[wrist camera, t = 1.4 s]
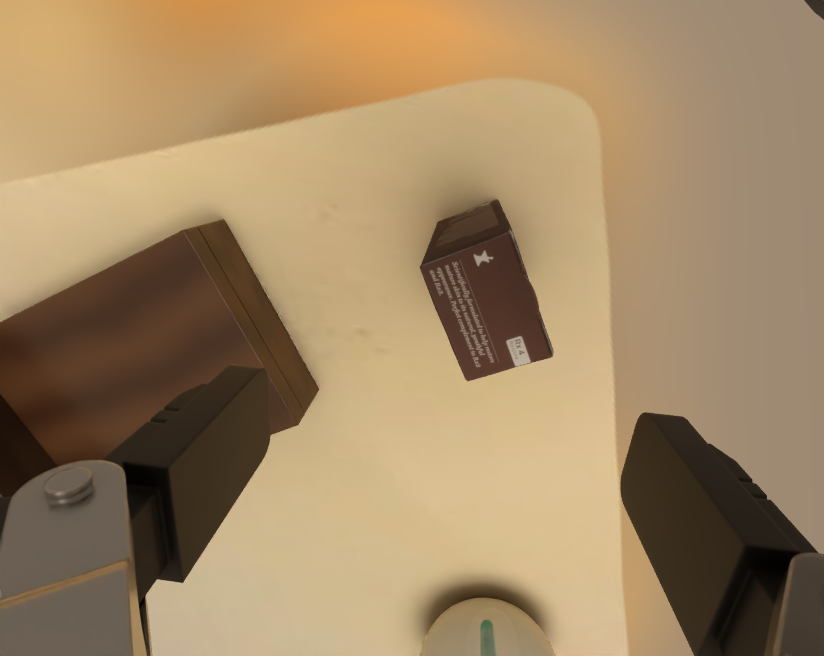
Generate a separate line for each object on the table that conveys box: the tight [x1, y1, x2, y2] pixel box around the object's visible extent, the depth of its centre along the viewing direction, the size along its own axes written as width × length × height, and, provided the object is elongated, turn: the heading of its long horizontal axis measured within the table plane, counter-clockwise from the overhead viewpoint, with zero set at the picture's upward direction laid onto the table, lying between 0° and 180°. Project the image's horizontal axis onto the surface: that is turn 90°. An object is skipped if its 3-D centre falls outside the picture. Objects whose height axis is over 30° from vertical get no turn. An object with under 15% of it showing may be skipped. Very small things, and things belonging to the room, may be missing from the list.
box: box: [420, 199, 553, 381], centre depth 25 cm, size 6×4×12 cm
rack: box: [0, 220, 319, 497], centre depth 32 cm, size 14×20×9 cm
